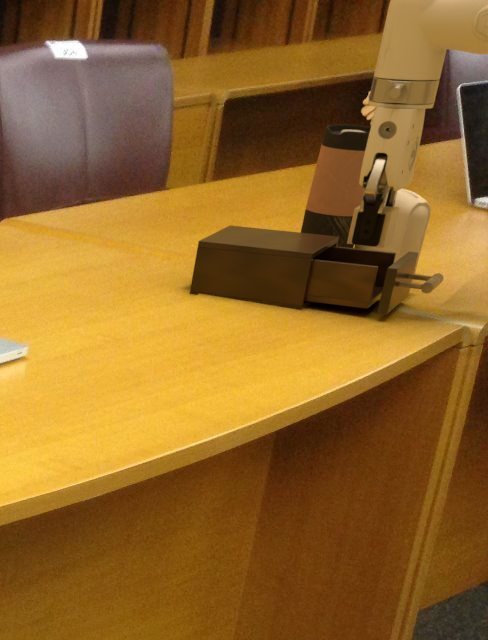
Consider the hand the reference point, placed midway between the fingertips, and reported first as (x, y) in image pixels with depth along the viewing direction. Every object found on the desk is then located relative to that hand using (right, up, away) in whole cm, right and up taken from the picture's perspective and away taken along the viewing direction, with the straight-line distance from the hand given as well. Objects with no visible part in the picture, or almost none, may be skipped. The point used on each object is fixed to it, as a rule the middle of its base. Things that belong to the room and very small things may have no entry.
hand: (369, 240), depth 200 cm
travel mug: (+5, +2, +24) cm, 25 cm away
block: (0, 0, 0) cm, 0 cm away
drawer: (0, -7, +3) cm, 8 cm away
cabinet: (-10, -5, +10) cm, 15 cm away
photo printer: (+12, 0, +21) cm, 24 cm away
